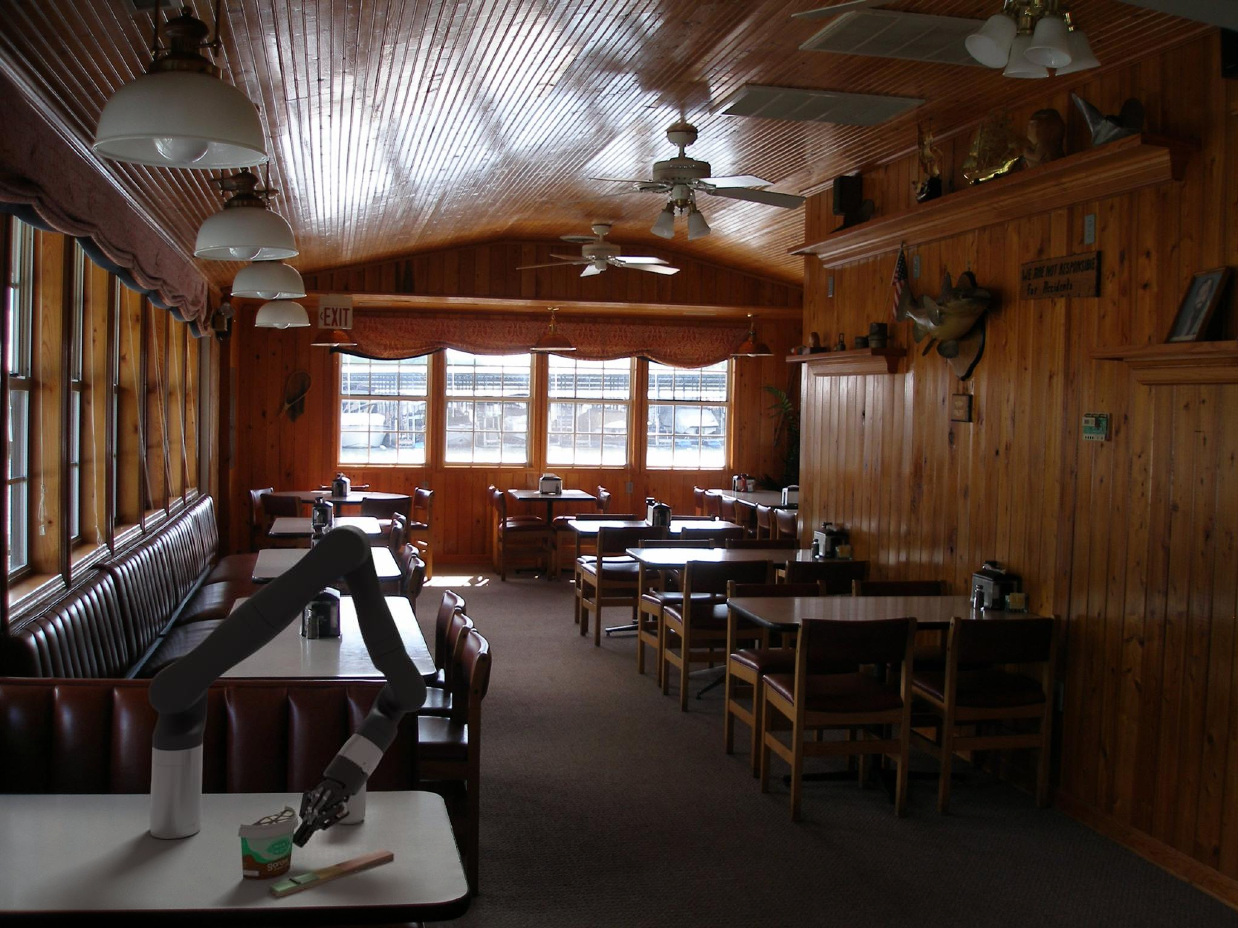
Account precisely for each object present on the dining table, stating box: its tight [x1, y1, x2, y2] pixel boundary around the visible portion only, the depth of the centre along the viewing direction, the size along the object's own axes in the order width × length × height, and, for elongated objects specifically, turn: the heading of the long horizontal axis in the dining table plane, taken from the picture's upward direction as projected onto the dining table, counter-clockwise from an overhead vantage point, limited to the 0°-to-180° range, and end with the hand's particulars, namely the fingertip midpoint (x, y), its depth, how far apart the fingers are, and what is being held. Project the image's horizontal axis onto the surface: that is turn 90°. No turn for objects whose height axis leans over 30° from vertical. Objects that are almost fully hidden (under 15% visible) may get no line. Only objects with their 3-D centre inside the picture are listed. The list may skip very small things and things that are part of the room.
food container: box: [237, 805, 299, 881], centre depth 192 cm, size 12×6×10 cm, turn 155°
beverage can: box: [337, 781, 367, 825], centre depth 220 cm, size 6×6×12 cm
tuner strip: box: [268, 848, 395, 898], centre depth 192 cm, size 3×24×2 cm, turn 139°
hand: (296, 844), depth 196 cm, fingers closed
